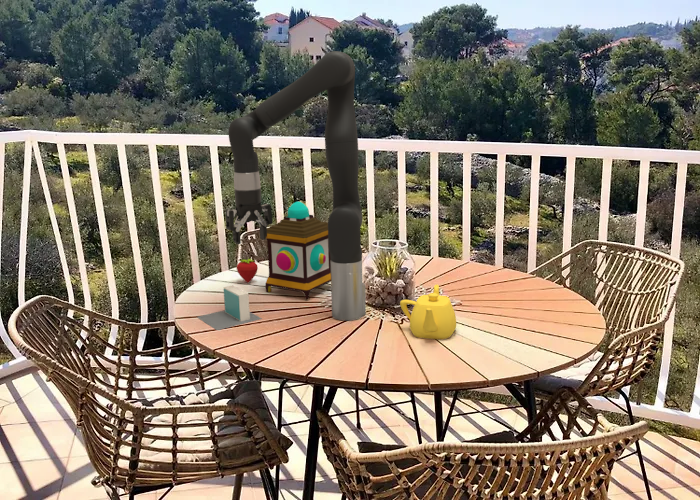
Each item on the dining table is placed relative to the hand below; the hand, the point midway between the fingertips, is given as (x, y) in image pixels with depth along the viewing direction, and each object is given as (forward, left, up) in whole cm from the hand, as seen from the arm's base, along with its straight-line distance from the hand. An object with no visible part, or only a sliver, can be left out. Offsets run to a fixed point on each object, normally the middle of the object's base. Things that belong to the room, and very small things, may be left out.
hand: (250, 241), depth 196 cm
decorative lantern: (-23, -9, -22) cm, 33 cm away
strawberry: (-13, -28, -22) cm, 38 cm away
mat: (+9, +1, -22) cm, 24 cm away
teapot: (-30, +45, -22) cm, 58 cm away
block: (+6, +1, -22) cm, 23 cm away
